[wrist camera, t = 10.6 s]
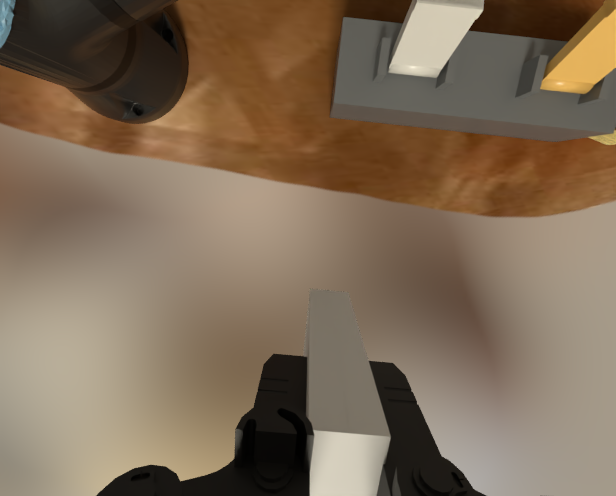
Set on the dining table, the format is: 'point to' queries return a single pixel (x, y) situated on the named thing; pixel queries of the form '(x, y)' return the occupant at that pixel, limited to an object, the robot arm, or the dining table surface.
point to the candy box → (606, 138)
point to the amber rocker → (585, 55)
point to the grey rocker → (431, 35)
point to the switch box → (466, 87)
